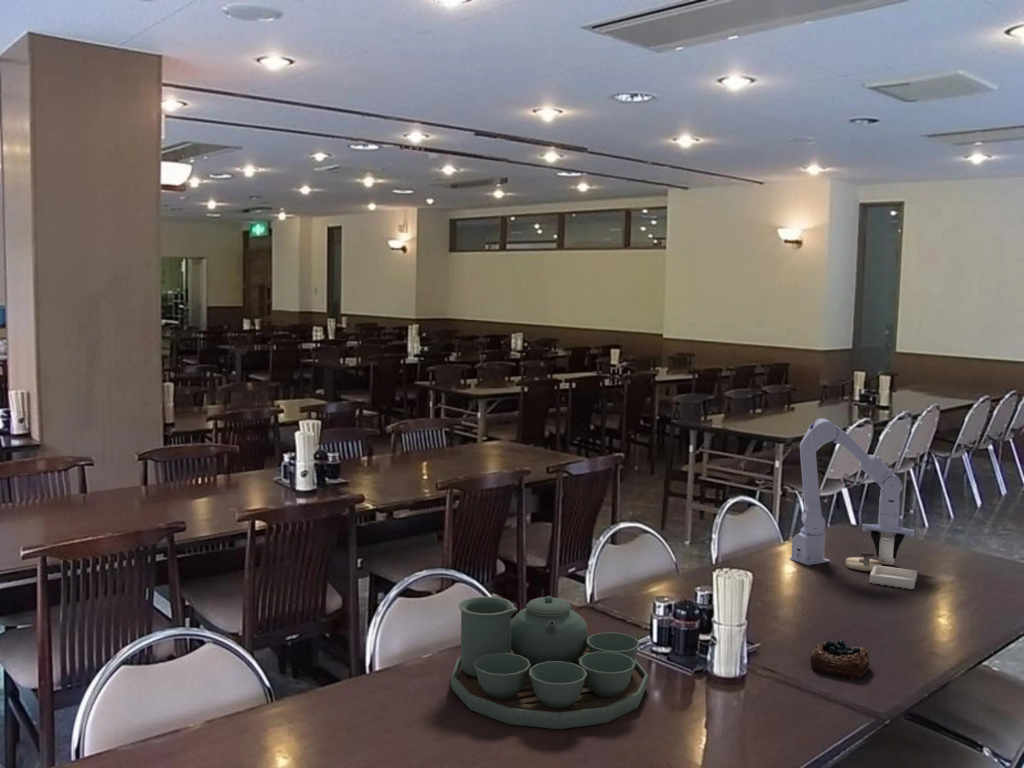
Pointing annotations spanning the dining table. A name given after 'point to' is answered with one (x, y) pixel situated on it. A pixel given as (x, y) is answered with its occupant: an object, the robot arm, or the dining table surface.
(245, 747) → the dining table surface
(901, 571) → the tray
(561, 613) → the tea set
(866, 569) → the crank
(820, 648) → the pastry
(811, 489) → the robot arm
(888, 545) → the block
